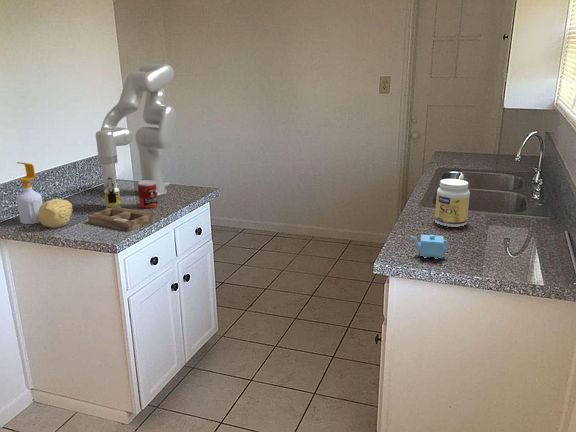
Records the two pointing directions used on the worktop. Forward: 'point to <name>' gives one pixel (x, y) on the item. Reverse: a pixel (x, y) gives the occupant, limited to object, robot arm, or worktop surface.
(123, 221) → the socket rack
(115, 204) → the pill bottle
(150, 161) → the robot arm
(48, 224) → the sculpture
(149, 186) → the canned food
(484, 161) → the worktop surface
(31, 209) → the soap bottle
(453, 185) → the supplement tub
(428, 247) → the teapot
